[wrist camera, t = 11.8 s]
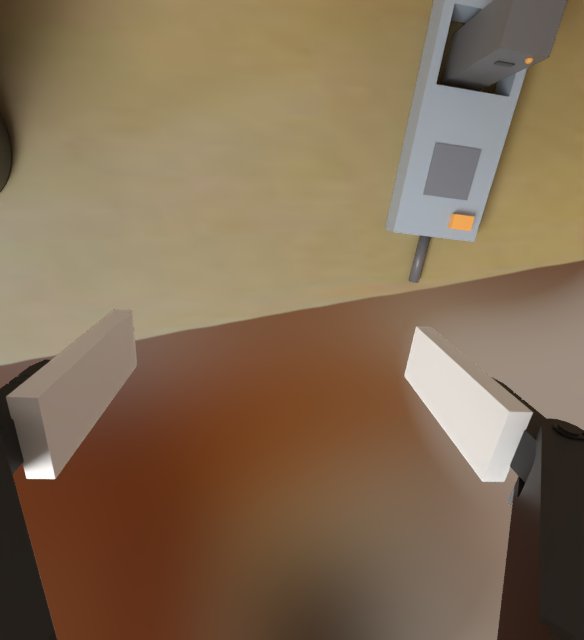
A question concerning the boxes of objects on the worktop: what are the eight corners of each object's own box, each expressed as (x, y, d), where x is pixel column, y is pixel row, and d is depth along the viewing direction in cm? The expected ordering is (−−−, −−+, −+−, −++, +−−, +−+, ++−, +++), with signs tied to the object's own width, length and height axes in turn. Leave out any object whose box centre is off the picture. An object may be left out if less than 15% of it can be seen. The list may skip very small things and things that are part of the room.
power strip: (375, 276, 44) (384, 283, 40) (437, -18, 33) (457, -43, 30) (447, 284, 45) (462, 292, 41) (529, 1, 34) (559, -21, 31)
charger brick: (440, 87, 37) (498, 52, 27) (452, 34, 35) (519, -22, 26) (477, 94, 37) (547, 61, 28) (491, 42, 36) (570, -11, 26)
